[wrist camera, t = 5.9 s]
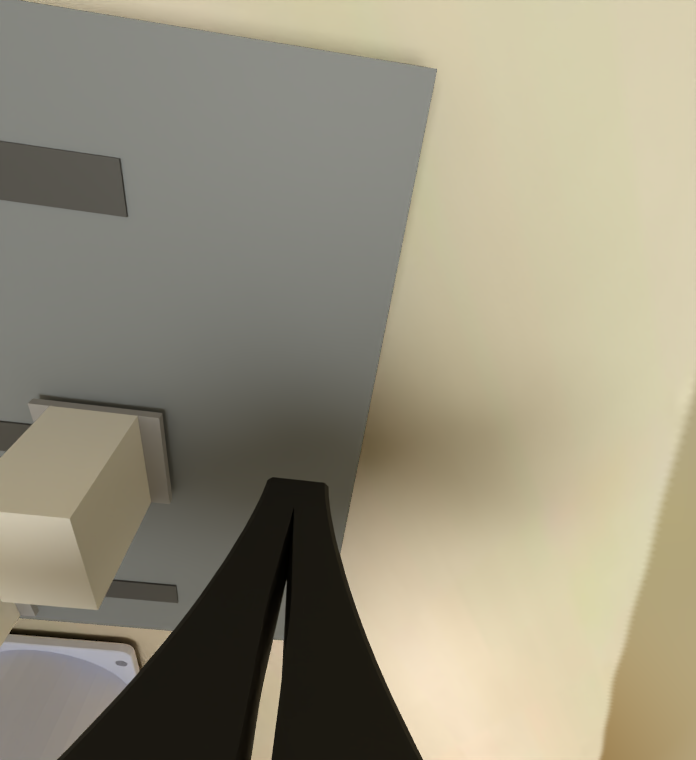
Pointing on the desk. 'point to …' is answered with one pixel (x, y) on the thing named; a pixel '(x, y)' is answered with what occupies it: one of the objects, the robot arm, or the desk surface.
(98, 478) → the block
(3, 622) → the breaker handle
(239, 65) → the panel
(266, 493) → the robot arm
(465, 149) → the desk surface
